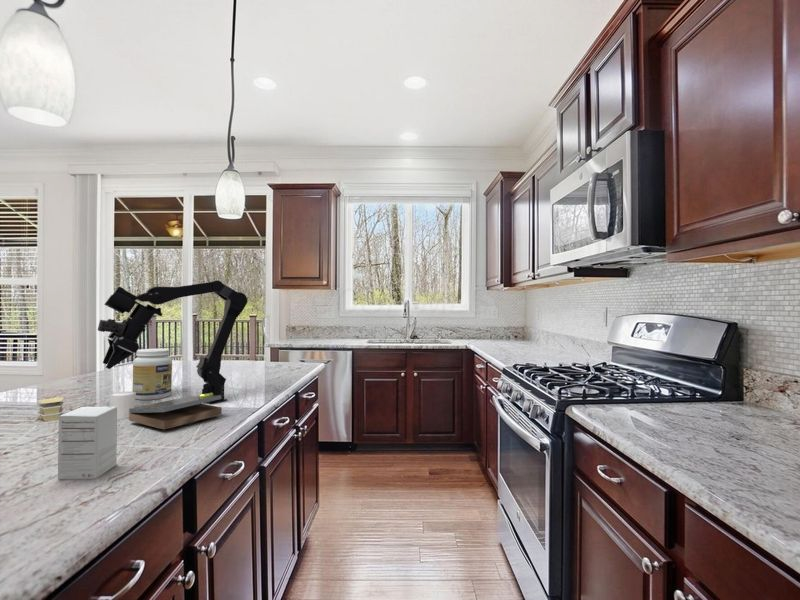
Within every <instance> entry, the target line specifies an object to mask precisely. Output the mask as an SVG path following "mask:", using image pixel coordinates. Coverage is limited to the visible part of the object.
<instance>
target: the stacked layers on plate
mask: <svg viewBox="0 0 800 600" xmlns="http://www.w3.org/2000/svg"><path fill="white" fill-rule="evenodd" d="M63 399H64V397H62V396H60V397H58V396H57V397H55V396H54V397H50V398H43V399H39V400H38V403H41V404H37V407H38V408H39V411H37V414H38V415H39V420H43V421H44V422H48V421H49V422H50V421H56V420H59V416H60V415H62V413H63V412H64V408H63V405H64V401H63Z"/></svg>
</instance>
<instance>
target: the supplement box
mask: <svg viewBox="0 0 800 600" xmlns="http://www.w3.org/2000/svg"><path fill="white" fill-rule="evenodd" d="M117 439H118V420H117V407H110V406H81V407H78V408H76V409H73V410H71V411H68V412H66V413H63V414H59V419H58V441H57V442H58V443H57V444H58V445H57V448H58V449H57V450H58V451H57V455H58V456H57V460H58V461H57V479H58V480H96V479H98V478H99V477H100V476H102V475H104V474H105V473H106V472H108V471H110V470H111V469H112V468H114V467H115V466H117V464H118V463H117V459H118V458H117V457H118V455H117V453H118V449H117V447H118V440H117Z"/></svg>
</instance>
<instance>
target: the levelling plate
mask: <svg viewBox="0 0 800 600" xmlns="http://www.w3.org/2000/svg"><path fill="white" fill-rule="evenodd" d="M219 399H221V395H213V393H207V394H202V393H201V394H199V395H195V396H184V397H183V396H182V397H180V398H174V399H169V400H164V401H160V402H154V403H150V404H145V405H140V406H136V407H135V406H134V408H130V409H129V413H148V412H166V411H171V410H175V409H179V408H184V407H188V406H193V405H197V404H205V403H206V402H210V401H214V400H219ZM206 404H207V403H206Z"/></svg>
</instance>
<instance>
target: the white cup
mask: <svg viewBox="0 0 800 600" xmlns="http://www.w3.org/2000/svg"><path fill="white" fill-rule="evenodd" d="M135 397H136V392H133V391H119V392H112V393H109V394H108V403H109V407H117V421H118V420H119V419H120V420H126V419H129V409H130V408H135V404H136V403H135V402H136V399H135Z"/></svg>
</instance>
